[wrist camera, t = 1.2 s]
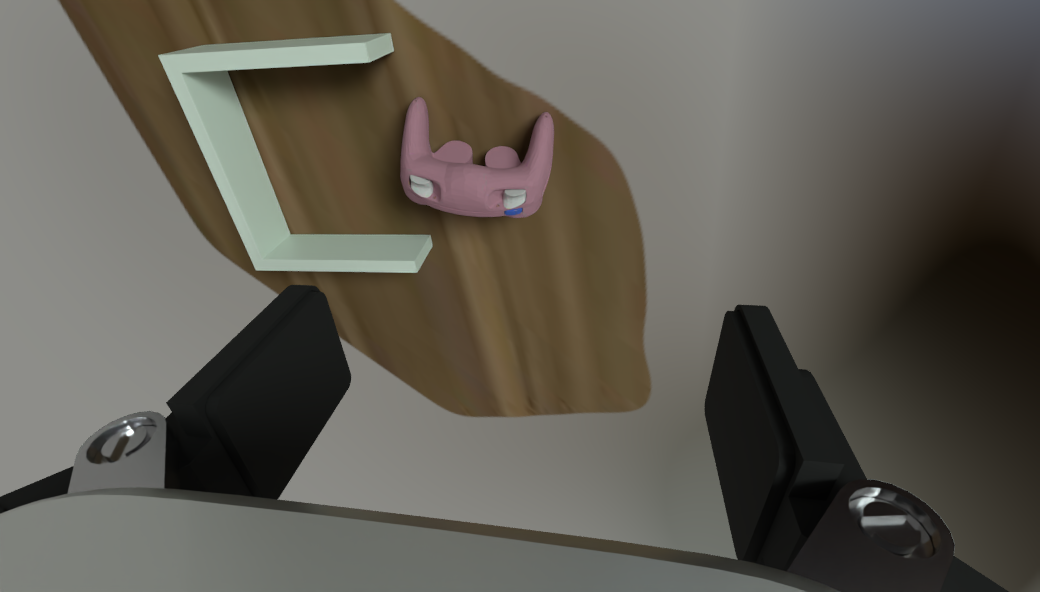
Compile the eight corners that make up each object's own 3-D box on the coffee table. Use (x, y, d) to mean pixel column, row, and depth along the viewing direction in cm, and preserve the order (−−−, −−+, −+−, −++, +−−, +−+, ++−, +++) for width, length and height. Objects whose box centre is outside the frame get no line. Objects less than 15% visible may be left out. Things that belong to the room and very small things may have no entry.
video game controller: (420, 141, 35) (394, 217, 32) (408, 88, 31) (376, 170, 28) (554, 157, 34) (541, 237, 31) (559, 106, 30) (545, 191, 27)
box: (203, 45, 31) (158, 55, 28) (390, 33, 29) (364, 42, 26) (283, 244, 40) (256, 270, 37) (432, 245, 38) (417, 272, 35)
